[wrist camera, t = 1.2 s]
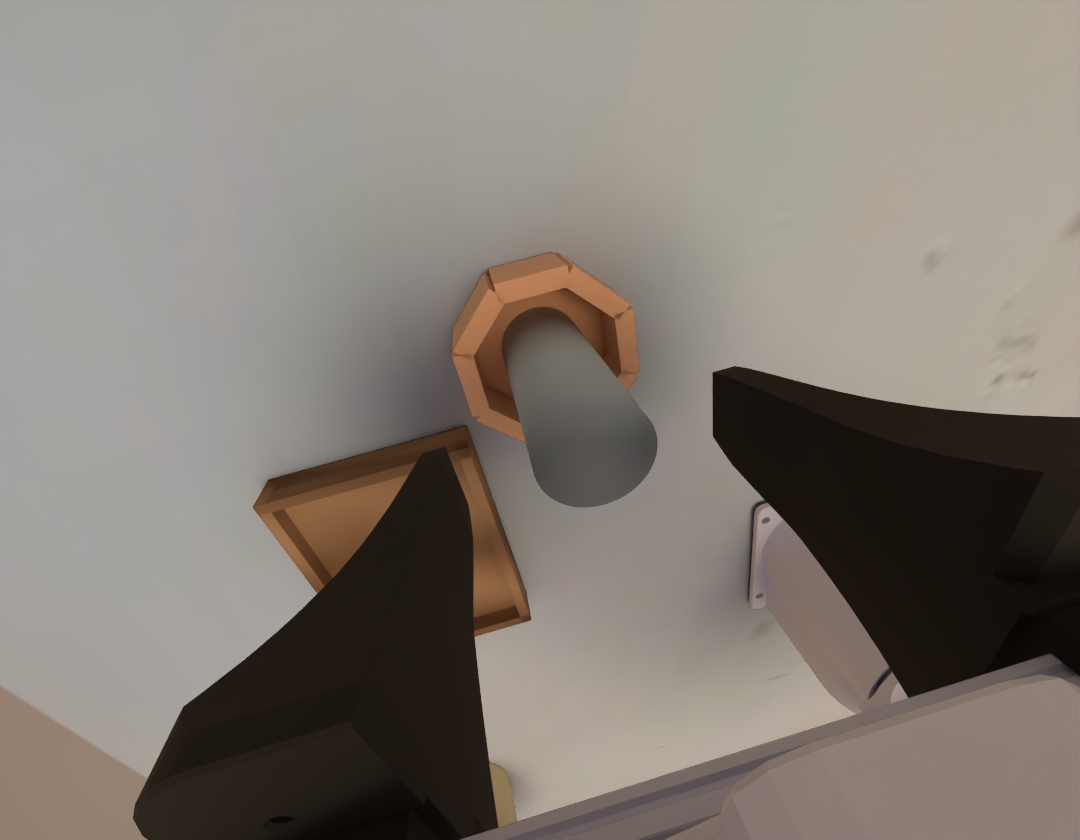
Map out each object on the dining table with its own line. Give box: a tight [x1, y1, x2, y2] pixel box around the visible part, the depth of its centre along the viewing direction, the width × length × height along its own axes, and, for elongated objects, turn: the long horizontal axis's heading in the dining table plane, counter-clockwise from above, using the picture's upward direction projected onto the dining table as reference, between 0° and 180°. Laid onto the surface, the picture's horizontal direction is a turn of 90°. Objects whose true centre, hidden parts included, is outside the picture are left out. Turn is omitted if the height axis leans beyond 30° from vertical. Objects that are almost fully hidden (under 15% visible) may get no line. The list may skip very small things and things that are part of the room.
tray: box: [253, 426, 531, 637], centre depth 22 cm, size 12×9×2 cm
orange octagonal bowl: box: [452, 252, 640, 443], centre depth 17 cm, size 7×7×3 cm
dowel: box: [502, 307, 657, 507], centre depth 14 cm, size 3×3×8 cm
